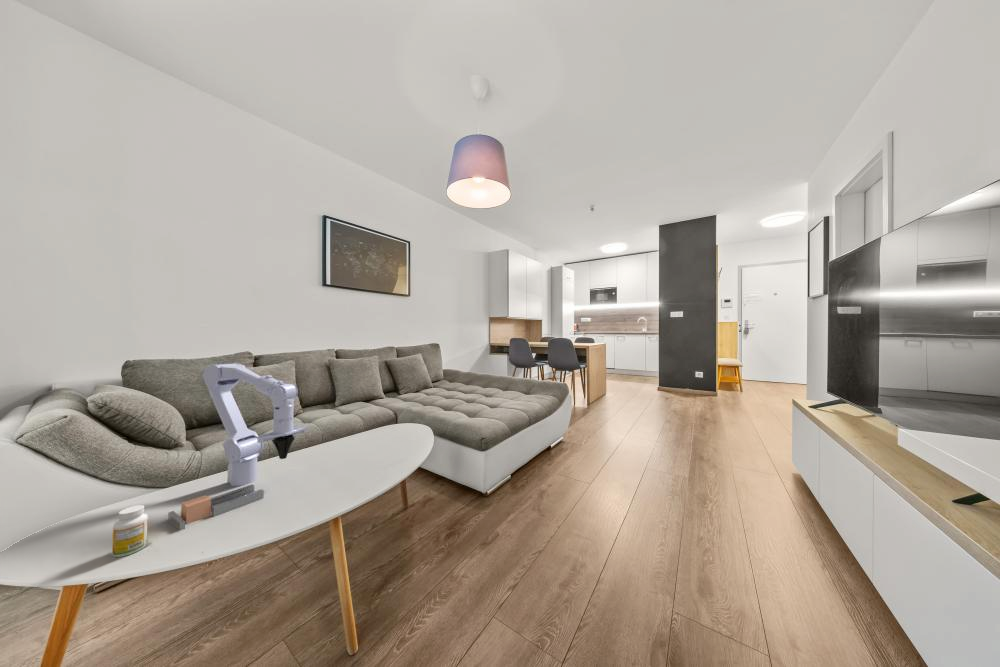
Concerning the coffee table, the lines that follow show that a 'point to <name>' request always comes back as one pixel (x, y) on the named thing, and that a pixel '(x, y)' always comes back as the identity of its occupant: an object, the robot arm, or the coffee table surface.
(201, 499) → the block
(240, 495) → the chute
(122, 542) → the supplement bottle
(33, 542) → the coffee table surface
